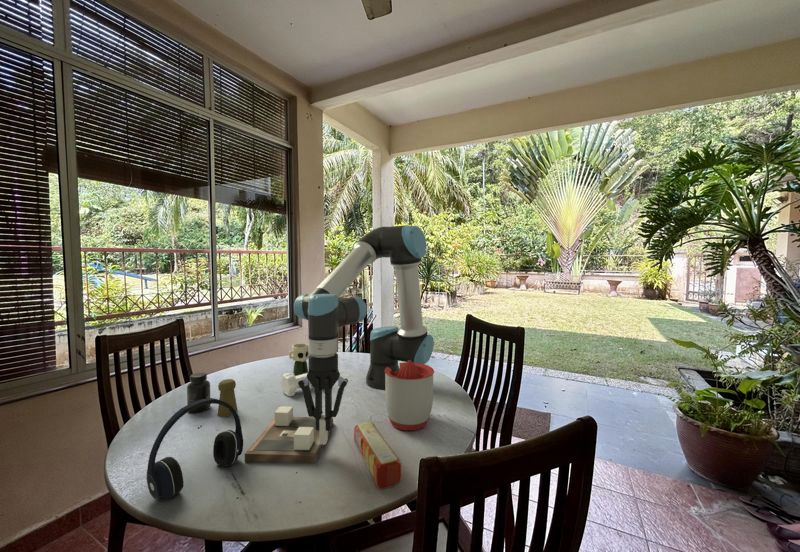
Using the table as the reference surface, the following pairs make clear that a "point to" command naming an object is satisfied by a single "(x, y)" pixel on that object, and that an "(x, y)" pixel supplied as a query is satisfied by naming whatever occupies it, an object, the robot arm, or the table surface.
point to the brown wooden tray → (285, 443)
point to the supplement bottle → (198, 391)
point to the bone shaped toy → (291, 383)
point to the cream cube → (303, 438)
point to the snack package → (378, 455)
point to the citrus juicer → (409, 395)
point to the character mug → (300, 358)
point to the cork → (227, 397)
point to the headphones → (167, 471)
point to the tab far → (283, 416)
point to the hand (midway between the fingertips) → (323, 441)
